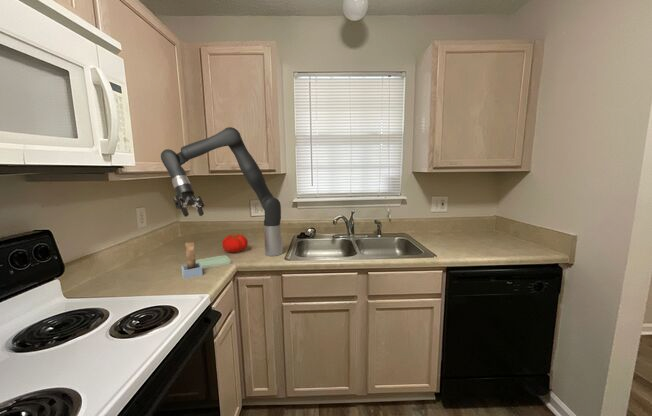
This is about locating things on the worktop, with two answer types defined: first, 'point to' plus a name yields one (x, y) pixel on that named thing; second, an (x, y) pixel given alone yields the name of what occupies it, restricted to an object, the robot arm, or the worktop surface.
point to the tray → (214, 261)
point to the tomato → (234, 243)
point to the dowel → (190, 255)
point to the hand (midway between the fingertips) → (194, 215)
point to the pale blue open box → (192, 271)
